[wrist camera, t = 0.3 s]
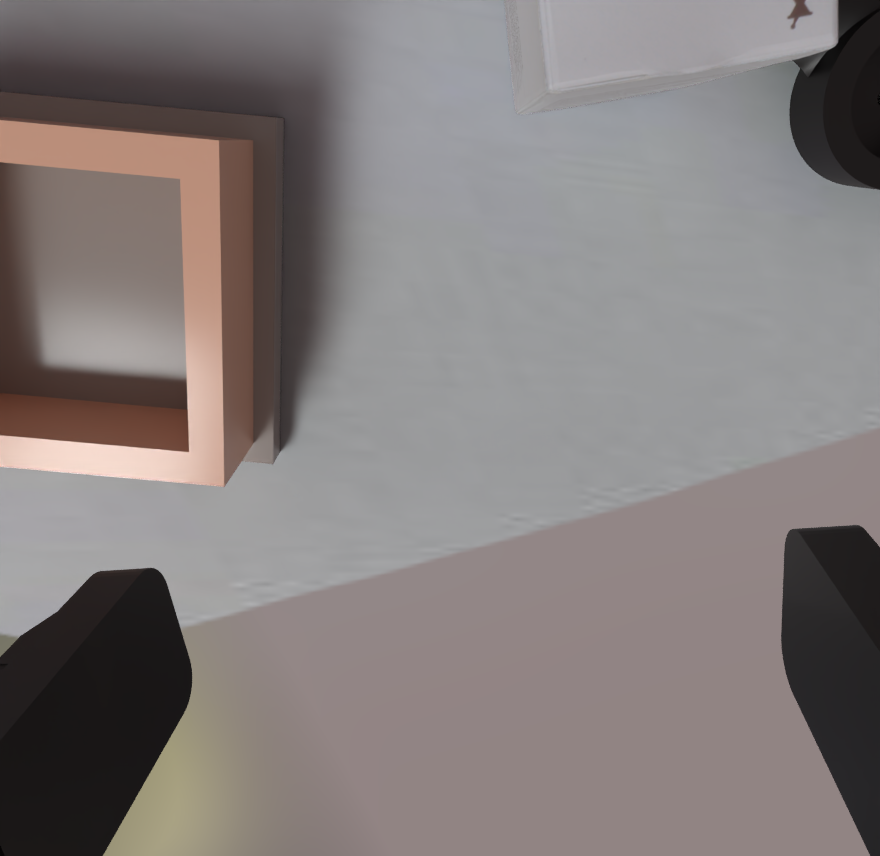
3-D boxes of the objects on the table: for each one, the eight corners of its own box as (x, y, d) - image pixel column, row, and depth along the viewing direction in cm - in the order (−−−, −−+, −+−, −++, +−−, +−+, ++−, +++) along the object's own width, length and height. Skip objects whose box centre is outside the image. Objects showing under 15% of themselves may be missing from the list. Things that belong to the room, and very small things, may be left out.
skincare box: (678, -51, 25) (855, -204, 14) (683, 89, 27) (848, 53, 15) (495, -18, 26) (523, -139, 14) (510, 118, 27) (547, 103, 16)
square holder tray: (-81, 84, 27) (-199, 72, 22) (283, 118, 27) (245, 113, 22) (-32, 424, 32) (-121, 476, 27) (279, 452, 32) (247, 508, 27)
